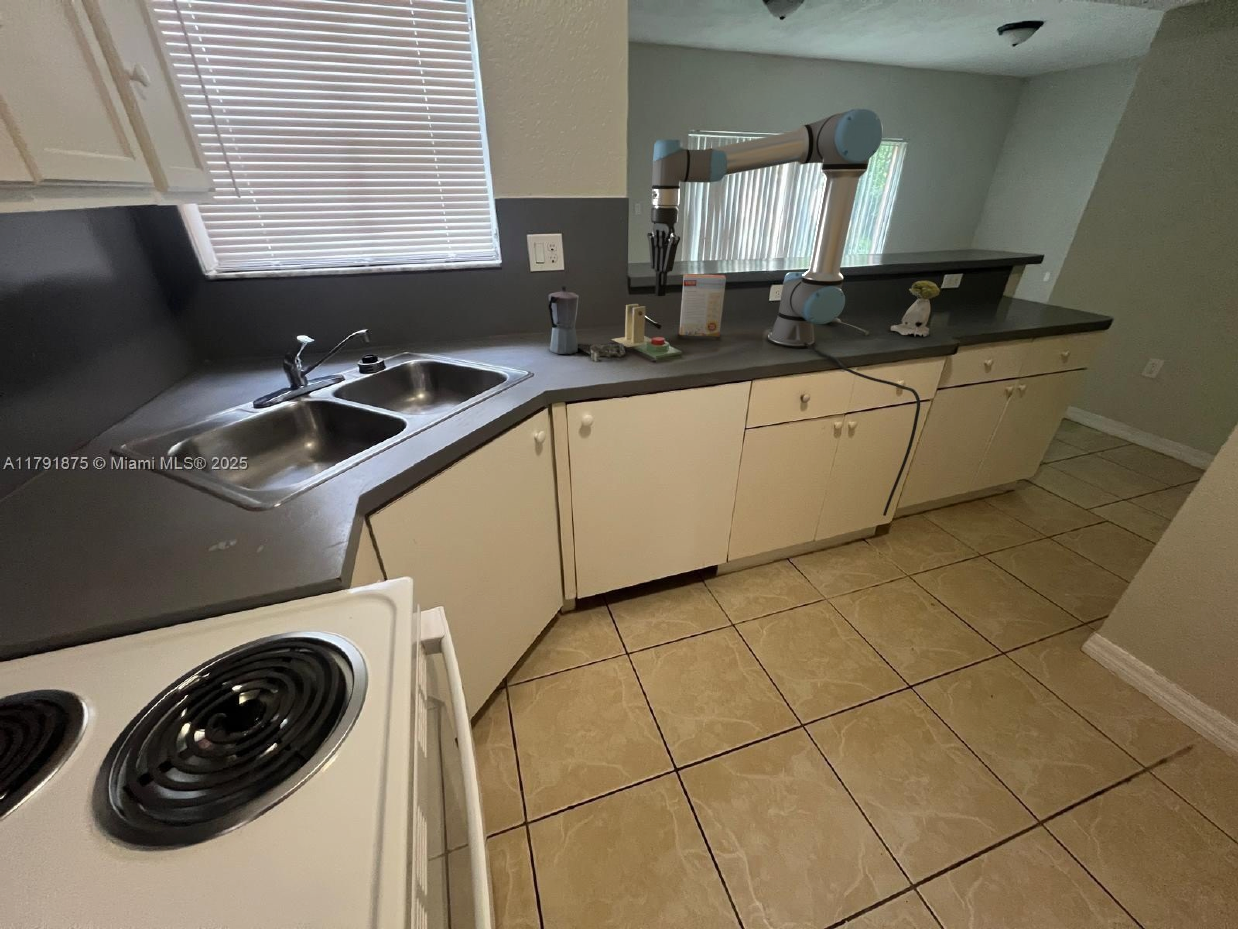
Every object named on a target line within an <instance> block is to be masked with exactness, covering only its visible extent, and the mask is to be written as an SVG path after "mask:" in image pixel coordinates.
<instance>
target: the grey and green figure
mask: <svg viewBox="0 0 1238 929" xmlns="http://www.w3.org/2000/svg"><path fill="white" fill-rule="evenodd" d="M908 291H909V292H910V294H912V295H913V296H916V297H917V299H916V300H915V301H914V302H913V303H912V304H911V306H910V307H909V308H908V309H907V310H906V312H905V314H904V315H903V317H902V318H901V324H898V325H897V324H896V325H895V324H894V325H891V326H890V331H895V332H897V333H899V334H900V335H902V336H908V335H911V334H912V335H914V336H916V335H919V336H920V337H922V335H923V337H927V336H928V335H929V332H930V329H929V327H927V324H928V321H929V317H930V314H931V304H930V299H932V298H935V297H937V296H939V295H940V292H941V289H940V288H939V287H938V285H937V284H936V283H934V282H932V281H930V280H918V281H915V282H913V283H912V285H911V288H908Z"/></svg>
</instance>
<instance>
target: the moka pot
mask: <svg viewBox="0 0 1238 929" xmlns="http://www.w3.org/2000/svg"><path fill="white" fill-rule="evenodd" d="M579 296H580V295H579V294H576V293H575V292H568V291H567V286H565V285H561V291H557V292H552V293H550V294H548V303H547V306H548V312H549V317H550V321H551V337H550V344H549V345H550V346H549V350H550V352H551V353H553V354H559V355H570V354H575V353H577V352H578V350H579V349H578V341H577V331H576V321H577V314H578V306H579V305H578V304H579Z"/></svg>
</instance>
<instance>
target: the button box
mask: <svg viewBox="0 0 1238 929" xmlns="http://www.w3.org/2000/svg"><path fill="white" fill-rule="evenodd" d="M633 349H635V350H636V351H638V352H641V353H642V354H645V355H647V356H649V357H651V358H653V359H655V360H651V362H652V363H654V364H658V363H665V362H668V361H669V362H670V361H674V360H678V359H682V354H683V351H682V350H680V349H678V348H675V347H672V346H671V345H670V342H668V341H666V340H664V345H653V344H652V340H651V341H648V342H647V344H643V345H637V346H633Z"/></svg>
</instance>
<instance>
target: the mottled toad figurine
mask: <svg viewBox="0 0 1238 929" xmlns="http://www.w3.org/2000/svg"><path fill="white" fill-rule="evenodd" d="M589 349H590V352H589V353H591V354H590V357H591V361H595V362H600V361H601V359H600V357H606V358H611V357H613V356H616V357H622V356H625V354H626V351H625V350H626V349H625V346H624V345H623V344H622V343H616V344H615V343H613V344H611V343H608V344H599V343H593V344H592V345H591V346H590V347H589ZM617 351H619V352H617Z"/></svg>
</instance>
